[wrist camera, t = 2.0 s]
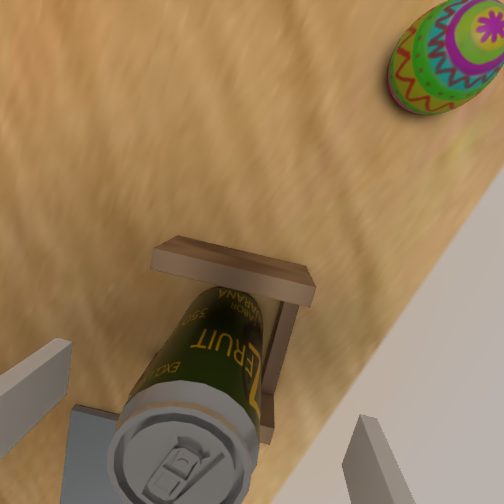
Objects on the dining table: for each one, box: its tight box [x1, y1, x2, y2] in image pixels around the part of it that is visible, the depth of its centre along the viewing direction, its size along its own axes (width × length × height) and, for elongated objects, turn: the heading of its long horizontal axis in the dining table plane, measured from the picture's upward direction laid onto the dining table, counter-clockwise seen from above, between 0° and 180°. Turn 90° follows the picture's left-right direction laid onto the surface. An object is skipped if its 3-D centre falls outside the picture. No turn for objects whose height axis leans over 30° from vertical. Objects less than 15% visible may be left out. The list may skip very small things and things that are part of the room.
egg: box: [388, 0, 504, 115], centre depth 15 cm, size 5×5×6 cm
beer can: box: [107, 287, 263, 504], centre depth 16 cm, size 5×5×12 cm
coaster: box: [60, 405, 125, 504], centre depth 25 cm, size 10×10×1 cm
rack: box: [128, 236, 316, 445], centre depth 20 cm, size 9×10×4 cm
